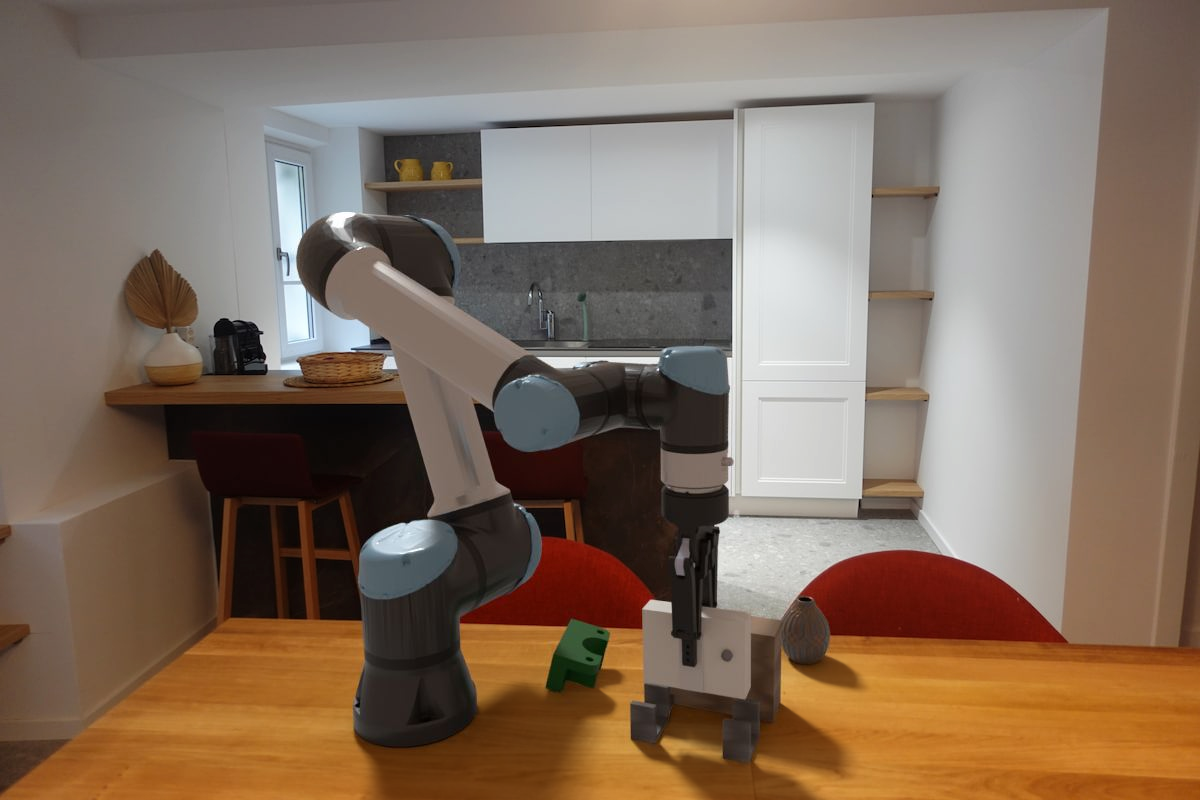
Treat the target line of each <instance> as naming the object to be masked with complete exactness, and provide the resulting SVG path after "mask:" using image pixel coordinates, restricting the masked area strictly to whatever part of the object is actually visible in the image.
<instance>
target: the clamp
mask: <svg viewBox="0 0 1200 800" xmlns="http://www.w3.org/2000/svg"><path fill="white" fill-rule="evenodd" d="M568 622H569V623H568V624H567V626H566V628H565V630H564V631H563V633H562V636H561V637H560V640H559V642H558V644H557V646H556V647H555V650H554V651H553V654H552V657H551V661H550V662H551V663H550V666H549V669H548V674H547V678H546V683H545V689H546V690H550V691H551V692H552V691H553V692H556V693H559V694H562V692H563V690H564V688H565V684H566V683H567V682H571V683H574V684H577V685H580V686H584V687H586V688H589V689H595V686H596V683H597V679H598V675H599V671H601V669H602V666H603V664H604V663H603V662H604V660H605V659H604V658H605V655H606V649H607V647H608V644H609V641H610V636H611V633H610V631H609V630H608V629H606V628H603V627H601V626H598V625H594V624H590V623H587V622H584V621H581V620H577V619H573V618H571V619H570V621H568Z"/></svg>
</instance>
